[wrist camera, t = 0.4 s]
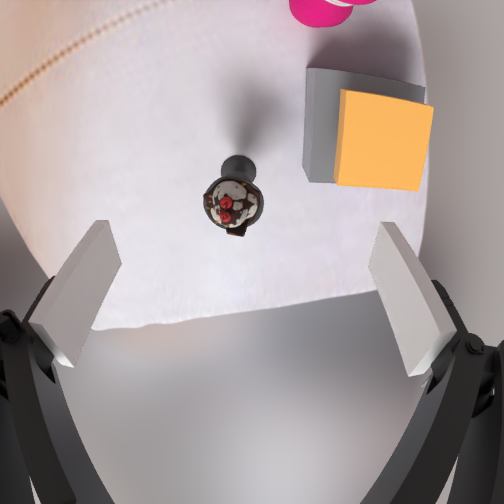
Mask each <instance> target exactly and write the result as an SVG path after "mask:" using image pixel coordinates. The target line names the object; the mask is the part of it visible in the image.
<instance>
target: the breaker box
mask: <svg viewBox="0 0 504 504" xmlns="http://www.w3.org/2000/svg"><path fill="white" fill-rule="evenodd" d="M341 89H346V90H354V91H361V92H368V93H374V94H380V95H386V96H391V97H396V98H401V99H405V100H410V101H414V102H419V103H423V104H424V95H425V87H422V86H418V85H414V84H410V83H406V82H402V81H397V80H393V79H388V78H383V77H378V76H373V75H367V74H361V73H354V72H347V71H340V70H331V69H321V68H306V99H305V126H304V147H303V165H302V166H303V168H304V171H305V173H306V176H307V178H308V180H309V182H315V183H336V182H335V180H334V179H333V176H334V167H335V157H336V146H337V135H338V122H339V108H340V91H341Z"/></svg>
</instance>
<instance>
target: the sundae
mask: <svg viewBox="0 0 504 504" xmlns="http://www.w3.org/2000/svg"><path fill="white" fill-rule="evenodd" d="M221 176H222V177H221V178H219V179H217V180H216V181H215V182H213V183H212V184H211V186H210V187H209V188H208V189H207V191H206V193H205V194H204V195H203V197H204V201H203V204H204V209H205V212H206V214H207V215H208V217H209V219H210V220H211V221H212V222H213V223H214V224H216V225H217V226H219V227H221V228H223V229H226V233H227V234H230V235H234V236H241V237H243V236H244V235H245V232H246V229H247V227H248V226H251V225H252V224H254V223H255V222H256V221H257V220H258V219H259V217H260V216H261V214H262V212H263V206H264V200H263V195H262V193H261V191H260V190H259V188H258V187H256V186H255V185H254V184H253V183H252V182H253V181H254V179H255V177H256V168H255V166H254V164H253V163H252V161H250V160H249V159H248V158H246V157H243V156H234V157H231V158H229V159H227V160H226V161H225V162H224V163H223V165H222V168H221Z"/></svg>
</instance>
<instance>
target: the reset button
mask: <svg viewBox="0 0 504 504" xmlns="http://www.w3.org/2000/svg"><path fill="white" fill-rule="evenodd" d="M433 108H434V107H432V106H429V105H426V104H423V103H419V102H414V101H410V100H405V99H401V98H396V97H391V96H386V95H380V94H374V93H368V92H361V91H354V90H346V89H341V91H340V108H339V122H338V135H337V146H336V157H335V167H334V176H333V179H334V180H335V182H336V184H337V185H338V186H354V187H371V188H384V189H397V190H408V191H418V190H419V186H420V182H421V177H422V173H423V168H424V163H425V158H426V153H427V148H428V142H429V136H430V130H431V123H432V116H433Z"/></svg>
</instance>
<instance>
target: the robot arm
mask: <svg viewBox="0 0 504 504" xmlns="http://www.w3.org/2000/svg"><path fill="white" fill-rule="evenodd" d="M121 264H122V263H121V260H120V257H119V254H118V251H117V247H116V244H115V241H114V238H113V234H112V231H111V228H110V224H109V221H108V220H97V221H95V222H94V224H93V225H92V226H91V227H90V229H89V230H88V231H87V233H86V234H85V235H84V237H83V238H82V239H81V241H80V242H79V243H78V245H77V246H76V247H75V249H74V250H73V252H72V253H71V254H70V256H69V257H68V259H67V260H66V262H65V263H64V264H63V266H62V267H61V269H60V270H59V272H58V273H57V275H56V276H53V277H52V278H50V279H49V280H48V281H47V282H46V283H45V285H44V286H43V288H42V289H41V291H40V293H39V294H38V296H37V297H36V300H35V301H34V302H33V304H32V305H31V307H30V309H29V311H28V312H27V314H26V316H25V318H24V319H23V321H22V323H21V322H20V320H19V319H18V318H17V316H16V315H15V313H14V312H13V311H12V310H4V311H2V312H0V504H35V501H34V496H33V492H32V488H31V482H30V478H31V481H32V483H33V485H34V488H35V491H36V493H37V495H38V497H39V500H40V502H41V504H115V503H114V502H113V500H112V498H111V497H110V495H109V493H108V492H107V490H106V488H105V486H104V485H103V483H102V481H101V479H100V478H99V476H98V474H97V472H96V470H95V468H94V466H93V464H92V462H91V460H90V458H89V456H88V454H87V452H86V450H85V447H84V445H83V443H82V441H81V438H80V436H79V434H78V431H77V429H76V426H75V424H74V421H73V419H72V416H71V414H70V411H69V408H68V406H67V403H66V400H65V397H64V394H63V391H62V388H61V385H60V382H59V378H58V375H57V372H56V368H55V366H54V364H53V363H52V361H53V358H54V357H55V358H56V359H57V360H58V361H59V363H60V364H62V365H66V366H70V367H75V365H76V363H77V360H78V358H79V355H80V353H81V350H82V347H83V345H84V343H85V340H86V338H87V336H88V334H89V331H90V329H91V327H92V324H93V322H94V320H95V318H96V315H97V313H98V311H99V309H100V307H101V305H102V302H103V300H104V298H105V296H106V294H107V292H108V290H109V288H110V286H111V284H112V282H113V280H114V278H115V276H116V274H117V272H118V270H119V268H120V266H121ZM368 268H369V270H370V272H371V275H372V277H373V280H374V282H375V284H376V287H377V289H378V292H379V294H380V297H381V299H382V302H383V305H384V307H385V310H386V313H387V315H388V318H389V320H390V323H391V326H392V329H393V332H394V335H395V337H396V340H397V343H398V346H399V349H400V352H401V355H402V358H403V361H404V364H405V368H406V371H407V374H408V377H409V376H413V375H419V374H424V373H425V371H426V370H427V369H428V368H429V367H430V365H431V368H432V371H433V373H432V374H431V375H430V376H429V377H428V378H427V379H426V381H425V382H424V383H423V384H422V386H421V387H424V386H425V385H426V387H425V389H424V392H423V394H422V396H421V399H420V401H419V403H418V405H417V408H416V410H415V412H414V414H413V416H412V418H411V420H410V422H409V424H408V426H407V428H406V430H405V432H404V434H403V436H402V438H401V440H400V442H399V443H398V445H397V447H396V449H395V451H394V452H393V454H392V456H391V458H390V459H389V461H388V463H387V464H386V466H385V468H384V469H383V471H382V472H381V474H380V476H379V477H378V479H377V480H376V482H375V483H374V485H373V486H372V488H371V489H370V490H369V492H368V493H367V495H366V496H365V498H364V499H363V500H362V502H361V503H360V504H435V503H436V502H437V500H438V498H439V496H440V494H441V492H442V490H443V488H444V486H445V484H446V482H447V480H448V477H449V475H450V473H451V471H452V468H453V466H454V464H455V461H456V459H457V456H458V461H457V465H456V470H455V474H454V479H453V483H452V487H451V491H450V494H449V498H448V501H447V504H504V340H503V341H502V342H501V343H500V344H499V345H498V346H497V347H492V346H486V345H484V343H483V341H482V340H481V338H479V337H478V336H477V335H475V334H472V333H468V331H467V329H466V327H465V325H464V323H463V321H462V319H461V317H460V316H459V313H458V311H457V310H456V308H455V306H454V304H453V302H452V300H451V299H450V297H449V295H448V293H447V292H446V290H445V288H444V287H443V286H442V285H441V284H440V283H439V282H438V281H437V280H430V278H429V277H428V275H427V273H426V271H425V270H424V268H423V266H422V265H421V263H420V261H419V260H418V258H417V256H416V255H415V253H414V252H413V250H412V248H411V247H410V245H409V244H408V242H407V241H406V239H405V238H404V236H403V234H402V233H401V231H400V230H399V228H398V227H397V225H396V224H395V223H394V222H380V226H379V230H378V234H377V237H376V241H375V244H374V248H373V251H372V255H371V258H370V261H369V264H368ZM493 389H494V395H493ZM458 454H459V455H458ZM29 475H30V478H29Z"/></svg>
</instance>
